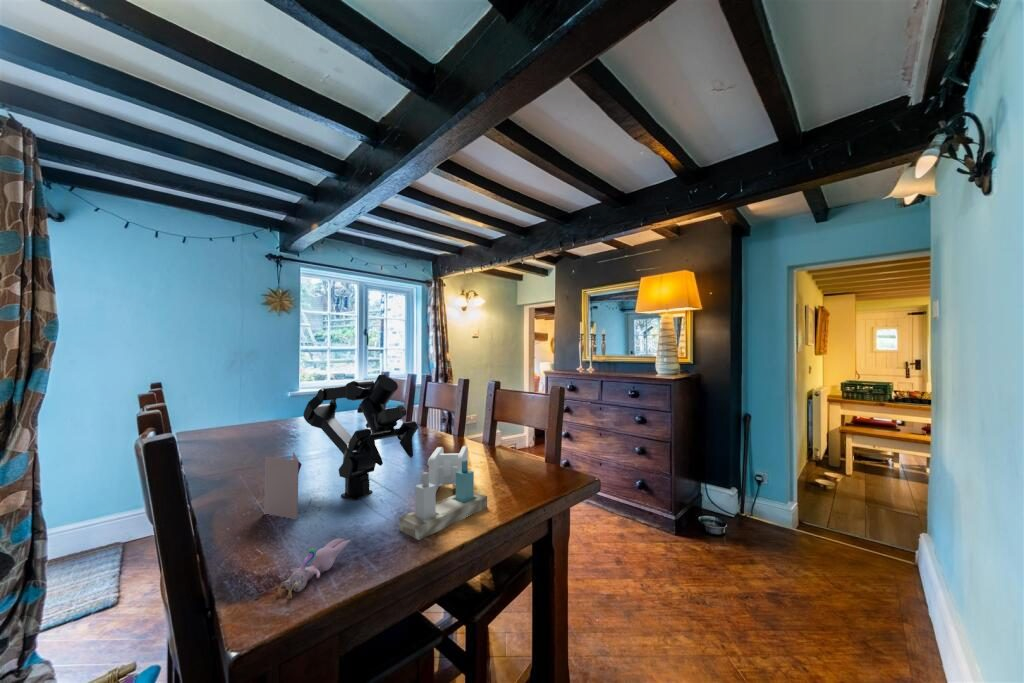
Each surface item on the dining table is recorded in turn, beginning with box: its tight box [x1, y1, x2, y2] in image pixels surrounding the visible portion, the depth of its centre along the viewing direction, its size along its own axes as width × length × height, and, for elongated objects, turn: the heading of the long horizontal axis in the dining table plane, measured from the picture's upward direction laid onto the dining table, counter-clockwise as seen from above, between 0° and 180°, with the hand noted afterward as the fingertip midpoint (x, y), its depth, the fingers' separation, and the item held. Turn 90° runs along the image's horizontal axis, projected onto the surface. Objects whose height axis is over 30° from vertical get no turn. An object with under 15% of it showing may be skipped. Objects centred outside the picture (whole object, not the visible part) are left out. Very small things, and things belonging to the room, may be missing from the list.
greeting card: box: [263, 451, 302, 521], centre depth 94 cm, size 11×7×15 cm, turn 37°
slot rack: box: [398, 491, 488, 541], centre depth 92 cm, size 22×8×3 cm, turn 141°
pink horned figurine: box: [276, 538, 351, 599], centre depth 69 cm, size 6×6×15 cm
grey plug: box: [414, 471, 437, 521], centre depth 87 cm, size 3×3×13 cm
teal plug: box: [455, 459, 475, 503], centre depth 97 cm, size 3×3×13 cm
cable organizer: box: [427, 445, 469, 493], centre depth 114 cm, size 15×11×12 cm
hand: (397, 460), depth 96 cm, fingers open, 9 cm apart
